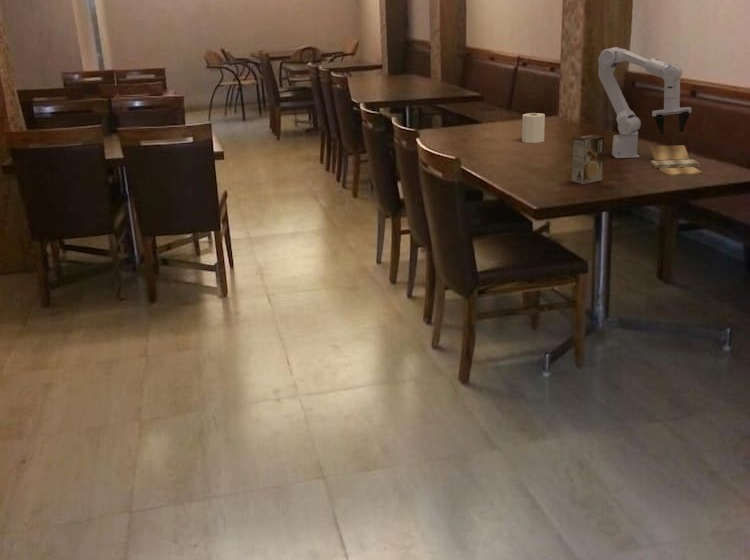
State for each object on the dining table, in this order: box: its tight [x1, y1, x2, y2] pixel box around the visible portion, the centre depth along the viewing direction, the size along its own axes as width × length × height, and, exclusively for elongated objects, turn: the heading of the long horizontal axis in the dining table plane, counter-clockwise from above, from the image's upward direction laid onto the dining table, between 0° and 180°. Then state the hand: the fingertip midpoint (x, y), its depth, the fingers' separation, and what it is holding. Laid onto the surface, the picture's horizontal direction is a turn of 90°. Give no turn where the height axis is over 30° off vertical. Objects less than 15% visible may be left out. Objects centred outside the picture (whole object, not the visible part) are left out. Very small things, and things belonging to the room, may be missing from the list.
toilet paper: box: [521, 112, 546, 144], centre depth 351 cm, size 10×10×12 cm
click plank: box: [650, 144, 690, 160], centre depth 301 cm, size 13×9×1 cm
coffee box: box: [571, 134, 605, 185], centre depth 275 cm, size 9×6×16 cm
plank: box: [658, 167, 704, 177], centre depth 284 cm, size 13×9×1 cm
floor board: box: [650, 158, 700, 169], centre depth 294 cm, size 16×8×2 cm, turn 86°
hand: (671, 133), depth 300 cm, fingers open, 7 cm apart
